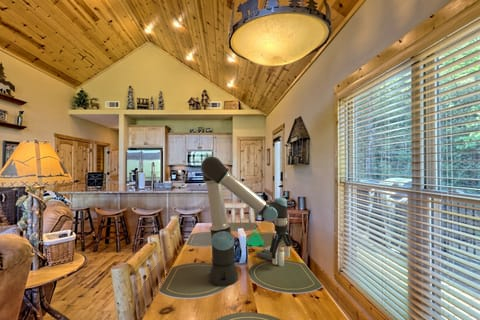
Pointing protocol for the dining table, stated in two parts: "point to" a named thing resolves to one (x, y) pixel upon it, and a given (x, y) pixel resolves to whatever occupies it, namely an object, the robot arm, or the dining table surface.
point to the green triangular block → (255, 240)
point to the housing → (267, 253)
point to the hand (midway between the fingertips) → (281, 260)
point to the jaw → (280, 256)
